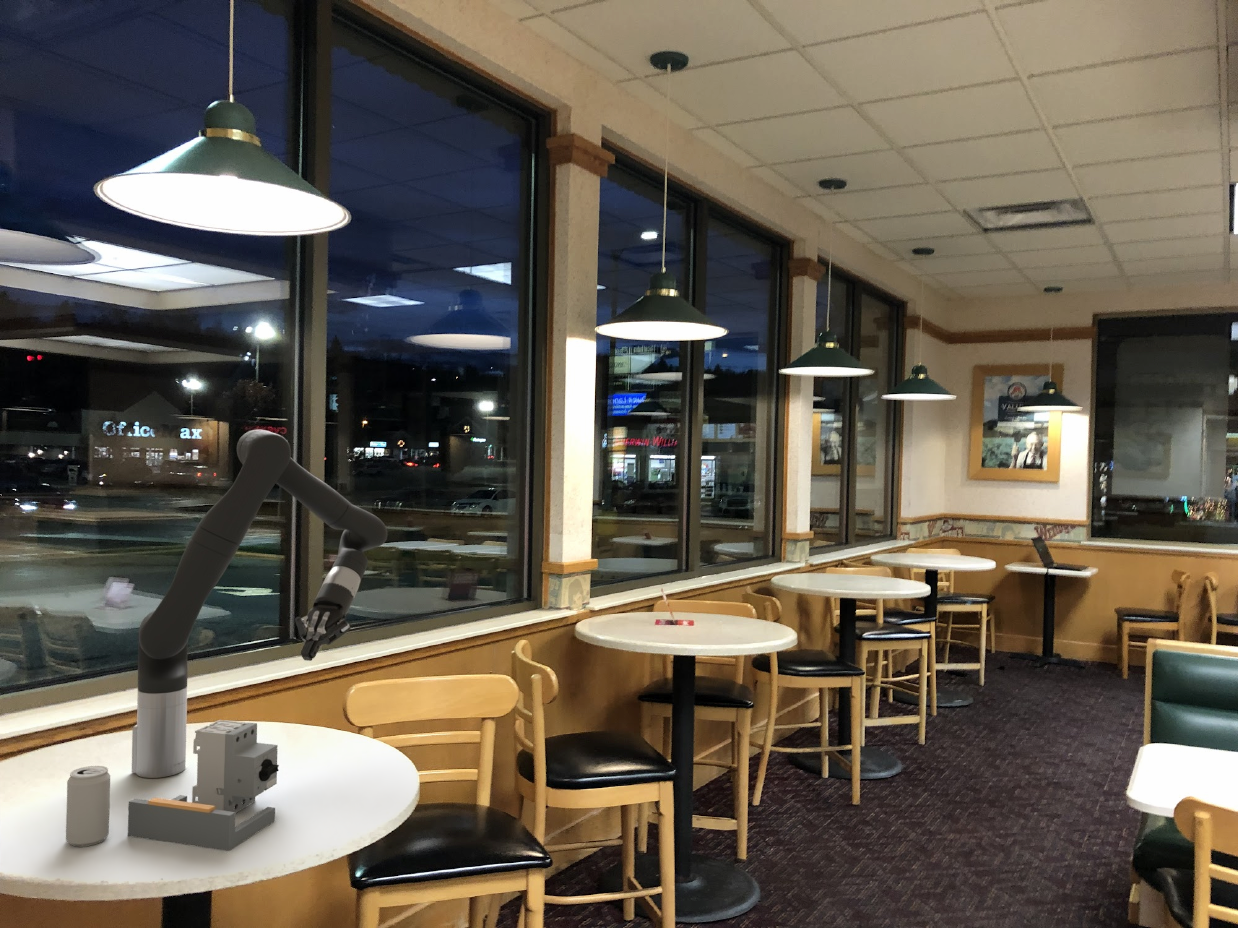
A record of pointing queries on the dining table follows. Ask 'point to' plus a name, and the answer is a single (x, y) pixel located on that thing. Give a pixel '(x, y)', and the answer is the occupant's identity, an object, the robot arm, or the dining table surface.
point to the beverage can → (88, 806)
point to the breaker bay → (192, 823)
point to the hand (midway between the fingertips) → (306, 658)
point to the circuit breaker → (232, 765)
